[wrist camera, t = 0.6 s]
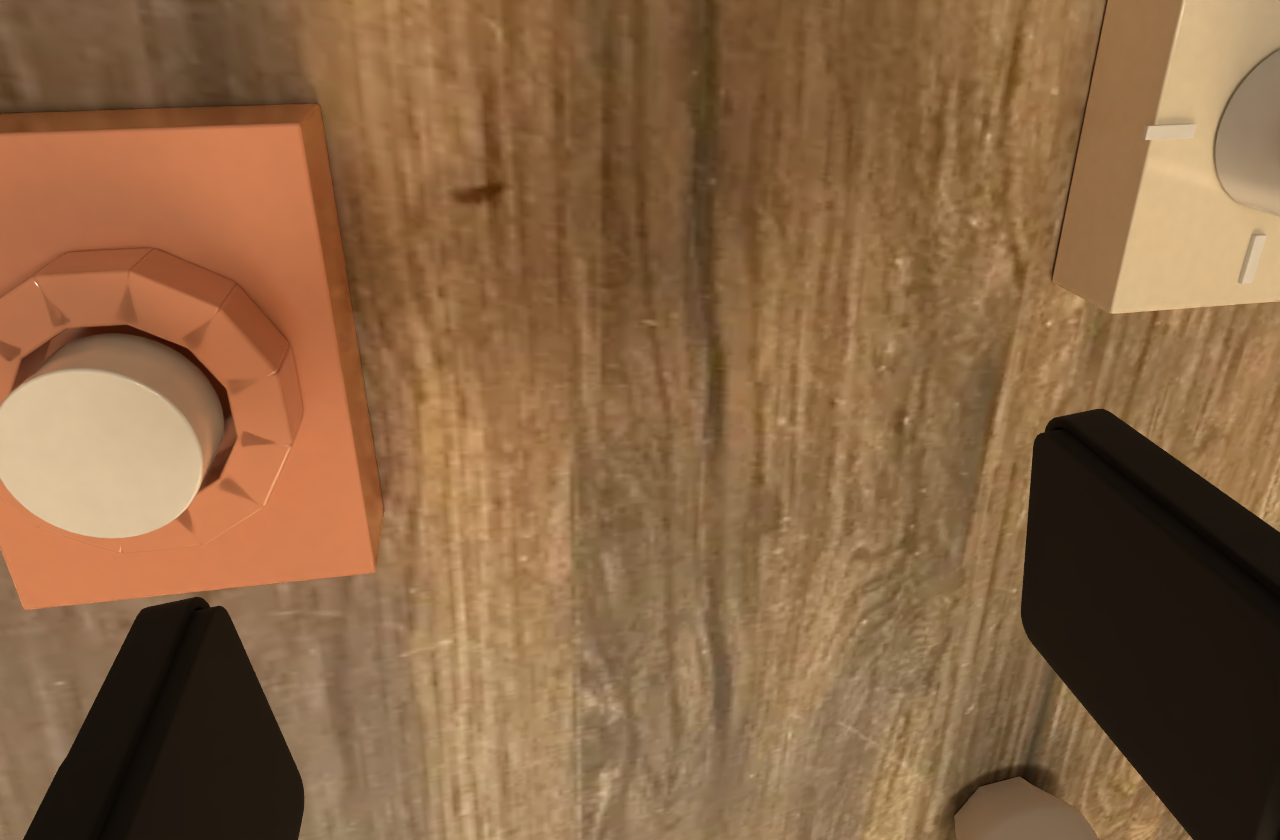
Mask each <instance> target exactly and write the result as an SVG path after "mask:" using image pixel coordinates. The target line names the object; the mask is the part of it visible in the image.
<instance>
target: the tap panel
mask: <svg viewBox="0 0 1280 840" xmlns="http://www.w3.org/2000/svg"><path fill="white" fill-rule="evenodd" d="M1278 50H1280V0H1108V2H1107V7H1106V12H1105V17H1104V22H1103V27H1102V32H1101V37H1100V42H1099V47H1098V52H1097V57H1096V62H1095V67H1094V72H1093V77H1092V82H1091V87H1090V92H1089V97H1088V102H1087V107H1086V112H1085V117H1084V122H1083V127H1082V132H1081V137H1080V142H1079V147H1078V152H1077V157H1076V163H1075V168H1074V173H1073V178H1072V183H1071V188H1070V193H1069V198H1068V203H1067V208H1066V213H1065V218H1064V223H1063V228H1062V233H1061V238H1060V243H1059V248H1058V253H1057V258H1056V263H1055V268H1054V273H1053V278H1052V282H1053V283H1055V284H1057V285H1059V286H1061V287H1063V288H1064V289H1066V290H1068V291H1070V292H1072V293H1074V294H1075V295H1077V296H1079V297H1081V298H1083V299H1085V300H1087V301H1088V302H1090V303H1092V304H1094V305H1096V306H1098V307H1099V308H1101V309H1103V310H1105V311H1107V312H1109V313H1111V314H1114V313H1128V312H1141V311H1155V310H1168V309H1182V308H1195V307H1209V306H1222V305H1236V304H1249V303H1262V302H1276V301H1280V217H1277V216H1274V215H1271V214H1267V213H1264V212H1261V211H1258V210H1255V209H1251V208H1249V207H1246V206H1243V205H1242V204H1240V203H1238V202H1236V201H1235V200H1234V199H1233V198H1232V197H1231V196H1230V195H1229V194H1228V193H1227V191H1226V190H1225V189H1224V187H1223V185H1222V183H1221V181H1220V179H1219V176H1218V173H1217V169H1216V163H1215V146H1216V138H1217V134H1218V129H1219V126H1220V123H1221V120H1222V117H1223V115H1224V112H1225V110H1226V108H1227V106H1228V104H1229V102H1230V100H1231V98H1232V97H1233V95H1234V94H1235V92H1236V91H1237V89H1238V88H1239V86H1240V85H1241V83H1242V82H1243V81H1244V80H1245V79H1246V77H1247V76H1248V75H1249V74H1250V73H1251V72H1252V71H1253V70H1254V69H1255V68H1256V67H1257V66H1258V65H1259V64H1260V63H1261V62H1263V61H1264V60H1265V59H1266V58H1268V57H1269V56H1270V55H1272V54H1273V53H1275V52H1276V51H1278Z"/></svg>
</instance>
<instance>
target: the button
mask: <svg viewBox="0 0 1280 840" xmlns="http://www.w3.org/2000/svg"><path fill="white" fill-rule="evenodd" d="M223 433H224V416H223V410H222V406H221V403H220V400H219V397H218V395H217V393H216V391H215V389H214V387H213V386H212V384H211V383H210V381H209V380H208V378H207V377H206V376H205V375H204V374H203V372H202V371H201V370H200V369H199V368H198V367H197V366H196V365H195V364H194V363H193V362H192V361H190V360H189V359H188V358H186V357H185V356H184V355H182V354H181V353H179V352H177V351H176V350H174V349H172V348H171V347H169V346H166V345H164V344H162V343H160V342H157V341H154V340H151V339H148V338H145V337H140V336H136V335H130V334H120V333H105V334H97V335H91V336H87V337H83V338H79V339H77V340H74V341H72V342H69V343H67V344H66V345H64V346H62V347H60V348H59V349H57V350H56V351H55V352H54V353H52V354H51V355H50V356H49V357H48V358H47V359H46V360H45V361H44V362H42V363H41V364H40V365H39V366H38V367H37V368H36V369H35V370H34V371H33V372H32V373H31V374H30V375H29V376H28V377H27V378H26V379H25V380H24V381H23V382H22V383H20V384H19V385H18V386H17V387H16V388H15V389H14V390H13V391H12V392H11V393H10V394H9V395H8V396H7V398H6V399H5V400H4V401H3V402H2V404H1V405H0V479H1V481H2V482H3V484H4V485H5V487H6V488H7V490H8V491H9V492H10V493H11V494H12V496H13V497H14V498H15V499H16V500H17V501H18V502H19V503H20V504H21V505H22V506H24V507H25V508H26V509H27V510H29V511H30V512H31V513H33V514H34V515H36V516H37V517H39V518H41V519H42V520H44V521H45V522H47V523H50V524H52V525H54V526H56V527H58V528H61V529H63V530H66V531H69V532H72V533H76V534H80V535H84V536H90V537H96V538H126V537H133V536H138V535H142V534H146V533H149V532H151V531H154V530H157V529H159V528H161V527H163V526H165V525H167V524H168V523H170V522H172V521H173V520H174V519H176V518H177V517H179V516H180V515H181V514H182V513H183V512H184V511H185V510H186V509H187V508H188V507H189V505H190V504H191V503H192V501H193V500H194V498H195V496H196V494H197V492H198V491H199V489H200V487H201V485H202V483H203V481H204V479H205V477H206V475H207V473H208V471H209V469H210V466H211V464H212V462H213V460H214V458H215V456H216V454H217V452H218V450H219V448H220V445H221V442H222V439H223Z"/></svg>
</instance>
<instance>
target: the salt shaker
mask: <svg viewBox="0 0 1280 840" xmlns="http://www.w3.org/2000/svg"><path fill="white" fill-rule="evenodd" d="M954 821H955V831H956V840H1099V839H1098V837H1097V835H1096V833H1095V831H1094V830H1093V829H1092V827H1091V826H1090V824H1089V823H1088V822H1087V820H1086V819H1085V817H1084V816H1083V815H1082V814H1081V813H1080V812H1079V811H1078V810H1077V809H1076V808H1075V807H1074V806H1072V805H1070V804H1068V803H1066V802H1064V801H1062V800H1060V799H1058V798H1057V797H1055V796H1053V795H1051V794H1049V793H1047V792H1045V791H1043V790H1041V789H1039V788H1037V787H1036V786H1034V785H1032V784H1030V783H1029V782H1027V781H1026V780H1024V779H1023V778H1021V777H1020V776H1019V777H1015V778H1011V779H1007V780H1004V781H1000V782H996V783H992V784H989V785H985V786H981V787H979V788H978V789H977V790H976V791H975V793H974V794H973V795H972V796H971V797H970V798H969V799H968V801H967V802H966V803H965V804H964V805H963V806H962V808H961V809H960V810H959V811H958V812H957V813H956V814H955V816H954Z"/></svg>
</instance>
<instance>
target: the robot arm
mask: <svg viewBox="0 0 1280 840" xmlns="http://www.w3.org/2000/svg"><path fill="white" fill-rule="evenodd" d="M1021 618H1022V623H1023V626H1024V629H1025V632H1026V634H1027V636H1028V638H1029V640H1030V641H1031V642H1032V644H1033V645H1034V646H1035V648H1036V649H1037V650H1038V651H1039V652H1040V654H1041V655H1042V656H1043V657H1044V659H1045V660H1046V661H1047V662H1048V663H1049V665H1050V666H1051V667H1052V668H1053V669H1054V671H1055V672H1056V673H1057V674H1058V676H1059V677H1060V678H1061V679H1062V680H1063V682H1064V683H1065V684H1066V685H1067V687H1068V688H1069V689H1070V690H1071V691H1072V693H1073V694H1074V695H1075V696H1076V697H1077V699H1078V700H1079V701H1080V702H1081V704H1082V705H1083V706H1084V707H1085V708H1086V710H1087V711H1088V712H1089V713H1090V715H1091V716H1092V717H1093V718H1094V719H1095V721H1096V722H1097V723H1098V724H1099V725H1100V727H1101V728H1102V729H1103V730H1104V732H1105V733H1106V734H1107V735H1108V736H1109V738H1110V739H1111V740H1112V741H1113V742H1114V744H1115V745H1116V746H1117V747H1118V749H1119V750H1120V751H1121V752H1122V753H1123V755H1124V756H1125V757H1126V758H1127V760H1128V761H1129V762H1130V763H1131V764H1132V766H1133V767H1134V768H1135V769H1136V770H1137V772H1138V773H1139V774H1140V775H1141V777H1142V778H1143V779H1144V780H1145V781H1146V783H1147V784H1148V785H1149V786H1150V788H1151V789H1152V790H1153V791H1154V792H1155V794H1156V795H1157V796H1158V797H1159V798H1160V800H1161V801H1162V802H1163V803H1164V805H1165V806H1166V807H1167V808H1168V809H1169V811H1170V812H1171V813H1172V814H1173V816H1174V817H1175V818H1176V819H1177V820H1178V822H1179V823H1180V824H1181V825H1182V826H1183V828H1184V829H1185V830H1186V831H1187V833H1188V834H1189V835H1190V836H1191V837H1192V839H1193V840H1280V532H1278V531H1277V530H1276V529H1274V528H1273V527H1271V526H1270V525H1268V524H1267V523H1266V522H1264V521H1263V520H1261V519H1260V518H1259V517H1257V516H1256V515H1254V514H1253V513H1252V512H1250V511H1249V510H1247V509H1246V508H1245V507H1243V506H1242V505H1240V504H1239V503H1237V502H1236V501H1235V500H1233V499H1232V498H1230V497H1229V496H1228V495H1226V494H1225V493H1223V492H1222V491H1221V490H1219V489H1218V488H1216V487H1215V486H1214V485H1212V484H1211V483H1209V482H1208V481H1206V480H1205V479H1204V478H1202V477H1201V476H1199V475H1198V474H1197V473H1195V472H1194V471H1192V470H1191V469H1190V468H1188V467H1187V466H1185V465H1184V464H1183V463H1181V462H1180V461H1178V460H1177V459H1176V458H1174V457H1173V456H1171V455H1170V454H1168V453H1167V452H1166V451H1164V450H1163V449H1161V448H1160V447H1159V446H1157V445H1156V444H1154V443H1153V442H1152V441H1150V440H1149V439H1147V438H1146V437H1145V436H1143V435H1142V434H1140V433H1139V432H1137V431H1136V430H1135V429H1133V428H1132V427H1130V426H1129V425H1128V424H1126V423H1125V422H1123V421H1122V420H1121V419H1119V418H1118V417H1116V416H1115V415H1114V414H1112V413H1111V412H1109V411H1107V410H1104V409H1095V410H1090V411H1085V412H1080V413H1076V414H1071V415H1066V416H1061V417H1056V418H1053V419H1052V420H1051V421H1049V423H1048V425H1047V426H1046V429H1045V433H1041V434H1039V435H1037V437H1036V439H1035V441H1034V446H1033V457H1032V470H1031V484H1030V497H1029V510H1028V523H1027V536H1026V549H1025V563H1024V576H1023V589H1022V602H1021ZM303 811H304V789H303V783H302V779H301V776H300V773H299V771H298V769H297V767H296V764H295V762H294V760H293V757H292V755H291V753H290V751H289V748H288V746H287V744H286V742H285V739H284V737H283V735H282V733H281V730H280V728H279V726H278V724H277V721H276V719H275V717H274V715H273V712H272V710H271V708H270V706H269V703H268V701H267V699H266V697H265V694H264V692H263V690H262V688H261V685H260V683H259V681H258V679H257V676H256V674H255V672H254V670H253V667H252V665H251V663H250V660H249V658H248V656H247V654H246V651H245V649H244V647H243V645H242V642H241V640H240V638H239V636H238V633H237V631H236V629H235V627H234V624H233V622H232V620H231V618H230V616H229V614H228V612H227V610H226V609H225V608H224V607H222V606H216V607H211V608H210V606H209V604H208V603H207V602H206V601H205V600H204V599H203V598H200V597H194V598H189V599H184V600H180V601H175V602H170V603H165V604H160V605H156V606H151V607H147V608H144V609H142V610H141V611H140V613H139V614H138V615H137V617H136V619H135V621H134V623H133V625H132V627H131V629H130V631H129V633H128V635H127V637H126V639H125V641H124V643H123V645H122V647H121V649H120V651H119V653H118V655H117V657H116V659H115V661H114V663H113V665H112V667H111V669H110V671H109V673H108V675H107V677H106V679H105V681H104V683H103V685H102V687H101V689H100V691H99V693H98V695H97V697H96V699H95V701H94V703H93V705H92V707H91V709H90V711H89V713H88V715H87V717H86V719H85V721H84V723H83V725H82V727H81V729H80V731H79V733H78V735H77V737H76V739H75V741H74V743H73V745H72V747H71V749H70V751H69V753H68V755H67V757H66V758H65V760H64V761H63V763H62V764H61V766H60V767H59V769H58V771H57V773H56V775H55V777H54V779H53V781H52V783H51V785H50V787H49V789H48V791H47V793H46V795H45V797H44V799H43V801H42V803H41V805H40V807H39V809H38V811H37V813H36V815H35V817H34V819H33V821H32V823H31V825H30V827H29V829H28V831H27V833H26V835H25V837H24V839H23V840H298V837H299V832H300V827H301V822H302V816H303Z"/></svg>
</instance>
